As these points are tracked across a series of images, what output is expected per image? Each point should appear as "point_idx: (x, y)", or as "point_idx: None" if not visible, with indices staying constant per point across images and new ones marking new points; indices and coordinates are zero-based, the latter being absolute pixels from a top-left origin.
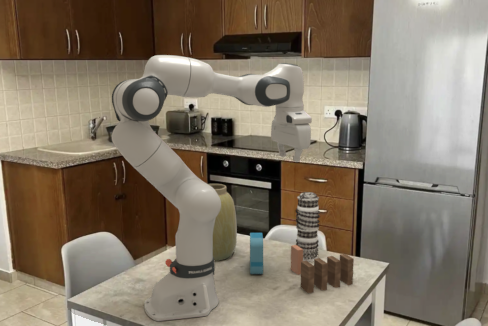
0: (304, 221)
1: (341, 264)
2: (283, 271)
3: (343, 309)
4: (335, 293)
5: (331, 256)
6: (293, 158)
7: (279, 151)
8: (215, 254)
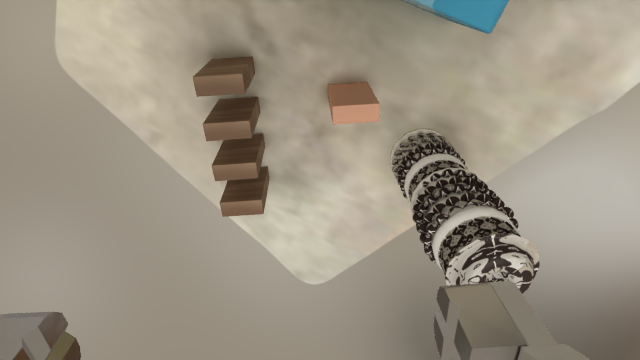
0: (433, 195)
1: (255, 187)
2: (363, 56)
3: (113, 100)
4: (197, 123)
5: (254, 173)
6: (9, 339)
7: (534, 338)
8: None
